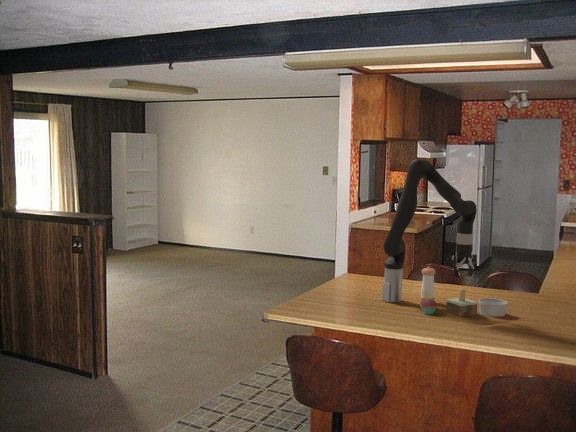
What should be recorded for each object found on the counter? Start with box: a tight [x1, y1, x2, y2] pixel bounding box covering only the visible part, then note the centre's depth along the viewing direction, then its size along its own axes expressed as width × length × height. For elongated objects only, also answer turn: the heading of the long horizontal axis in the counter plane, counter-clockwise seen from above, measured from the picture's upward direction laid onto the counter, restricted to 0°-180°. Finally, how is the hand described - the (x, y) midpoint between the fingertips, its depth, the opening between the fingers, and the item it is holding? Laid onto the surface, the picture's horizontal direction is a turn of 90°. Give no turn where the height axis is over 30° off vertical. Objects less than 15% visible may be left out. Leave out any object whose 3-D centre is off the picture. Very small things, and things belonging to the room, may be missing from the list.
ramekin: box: [478, 297, 509, 318], centre depth 292 cm, size 13×13×7 cm
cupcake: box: [419, 291, 439, 315], centre depth 291 cm, size 9×8×12 cm
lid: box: [446, 288, 478, 306], centre depth 290 cm, size 10×10×6 cm
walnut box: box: [445, 301, 478, 318], centre depth 291 cm, size 10×10×6 cm
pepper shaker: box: [419, 266, 437, 304], centre depth 311 cm, size 7×7×19 cm
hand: (463, 276), depth 289 cm, fingers open, 8 cm apart
